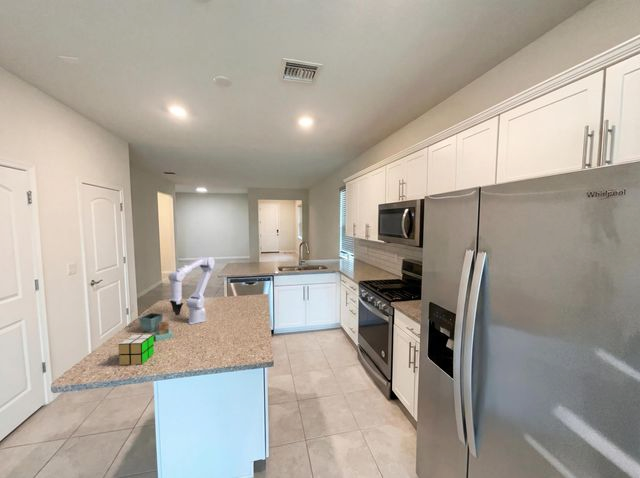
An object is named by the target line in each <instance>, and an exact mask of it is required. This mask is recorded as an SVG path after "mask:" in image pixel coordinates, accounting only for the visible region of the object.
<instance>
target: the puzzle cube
mask: <svg viewBox="0 0 640 478" xmlns="http://www.w3.org/2000/svg"><path fill="white" fill-rule="evenodd" d="M154 342H155V337H154V334H131V336H129V337H128V338H127V337H126V339H124V340H123V341H121V342H120V343H118V365H119V366H130V365H131V366H132V365H133V364H138V365H143V364H144V363H145V362H146V361H147V360H148V359H150V358H151V357H152V356H153V355H154V354H155V345H154Z"/></svg>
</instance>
